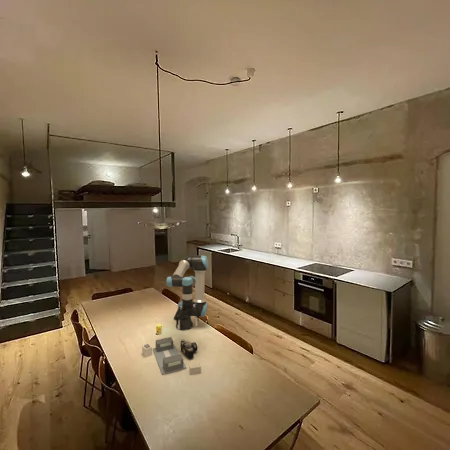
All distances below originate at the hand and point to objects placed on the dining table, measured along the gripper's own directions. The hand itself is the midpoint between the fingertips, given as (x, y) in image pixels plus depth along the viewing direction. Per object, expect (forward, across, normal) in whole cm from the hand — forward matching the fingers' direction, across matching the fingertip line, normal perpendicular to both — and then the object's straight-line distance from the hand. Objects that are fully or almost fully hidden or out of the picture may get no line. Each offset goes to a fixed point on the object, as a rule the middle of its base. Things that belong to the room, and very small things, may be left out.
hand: (187, 327), depth 194 cm
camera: (+20, -1, +1) cm, 20 cm away
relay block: (+20, +27, -11) cm, 35 cm away
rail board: (+20, +14, +1) cm, 24 cm away
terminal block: (+20, +3, +24) cm, 31 cm away
